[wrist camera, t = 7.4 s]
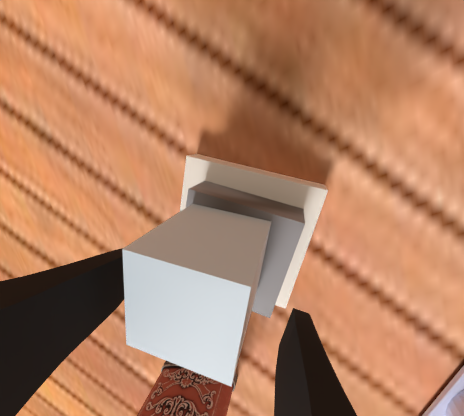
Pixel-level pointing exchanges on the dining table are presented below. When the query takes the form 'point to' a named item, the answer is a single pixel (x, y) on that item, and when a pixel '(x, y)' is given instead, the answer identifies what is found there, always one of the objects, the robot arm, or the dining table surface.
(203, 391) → the lighter
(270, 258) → the gray slab
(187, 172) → the base slab
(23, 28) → the dining table surface
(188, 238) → the gray block
